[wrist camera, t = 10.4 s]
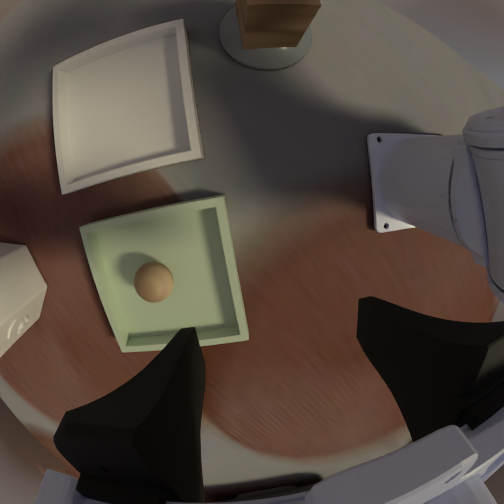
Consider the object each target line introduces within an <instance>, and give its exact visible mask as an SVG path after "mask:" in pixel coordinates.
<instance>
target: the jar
mask: <svg viewBox="0 0 504 504" xmlns="http://www.w3.org/2000/svg"><path fill="white" fill-rule="evenodd" d="M46 290H47V284H46V283H45V281H44V279H43V277H42V275H41V273H40V272H39V270H38V268H37V266H36V264H35V262H34V260H33V258H32V256H31V254H30V252H29V250H28V248H27V246H26V245H19V244H10V243H1V242H0V357H1V356H2V355H3V354H4V353H5V352H6V351H7V350H8V349H9V348H10V347H11V346H12V345H13V344H14V342H15V341H16V340H17V339H18V338H19V337H20V336H21V335H22V334H23V333H24V332H25V331H26V330H27V329H28V328H29V327H30V326H31V325H32V324H33V323H35V322H36V321H37V320H38V319H39V318H40V314H41V309H42V305H43V301H44V297H45V294H46Z"/></svg>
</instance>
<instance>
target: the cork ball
mask: <svg viewBox="0 0 504 504" xmlns="http://www.w3.org/2000/svg"><path fill="white" fill-rule="evenodd" d="M173 286H174V279H173V275H172V273H171V271H170V270H169V268H168V267H167V266H165V265H164V264H162V263H159V262H147V263H145V264H143V265H142V266H140V267H139V269H138V270H137V271H136V273H135V276H134V287H135V290H136V292H137V294H138V295H139V296H140V297H141V298H142V299H143V300H145V301H147V302H151V303H157V302H161V301H163V300H165V299H166V298H167V297H168V296H169V295H170V294H171V292H172V290H173Z"/></svg>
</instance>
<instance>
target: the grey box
mask: <svg viewBox="0 0 504 504" xmlns="http://www.w3.org/2000/svg"><path fill="white" fill-rule="evenodd" d="M53 125H54V139H55V149H56V158H57V166H58V173H59V180H60V186H61V191H62V195H63V194H68V193H72V192H76V191H79V190H82V189H85V188H88V187H91V186H95V185H98V184H101V183H105V182H108V181H111V180H115V179H119V178H122V177H126V176H130V175H133V174H137V173H141V172H145V171H149V170H153V169H158V168H162V167H166V166H171V165H175V164H180V163H185V162H190V161H195V160H200V159H204V154H203V147H202V141H201V134H200V128H199V121H198V114H197V107H196V100H195V93H194V85H193V78H192V70H191V62H190V54H189V45H188V37H187V28H186V25H185V23H184V20H183V19H179V20H174V21H170V22H166V23H162V24H158V25H155V26H151V27H148V28H144V29H141V30H138V31H135V32H132V33H129V34H126V35H123V36H120V37H117V38H115V39H112V40H109V41H107V42H104V43H102V44H100V45H97V46H95V47H92V48H90V49H88V50H86V51H83V52H81V53H79V54H77V55H75V56H73V57H71V58H69V59H67V60H65V61H63V62H61V63H59V64H57V65H56V66H54V67H53Z"/></svg>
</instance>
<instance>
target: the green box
mask: <svg viewBox="0 0 504 504" xmlns="http://www.w3.org/2000/svg"><path fill="white" fill-rule="evenodd" d="M79 229H80V233H81V237H82V240H83V244H84V248H85V252H86V255H87V259H88V262H89V265H90V269H91V272H92V275H93V278H94V281H95V284H96V287H97V290H98V293H99V296H100V299H101V301H102V304H103V307H104V309H105V312H106V315H107V317H108V320H109V322H110V325H111V327H112V330H113V332H114V334H115V337H116V339H117V341H118V344H119V346H120V348H121V350H122V352H139V351H154V350H163V349H164V347H165V346H166V345H167V344H168V343H169V342H170V341H171V339H172V338H173V337H174V336H175V335H176V333H177V332H178V331H179V330H180V329H181V328H188V327H195V329H196V332H197V336H198V340H199V344H200V346H207V345H215V344H223V343H230V342H237V341H244V340H249V333H248V325H247V320H246V315H245V309H244V304H243V299H242V293H241V288H240V282H239V277H238V271H237V265H236V260H235V254H234V248H233V243H232V237H231V231H230V225H229V219H228V214H227V208H226V202H225V196H224V194H222V195H216V196H211V197H205V198H199V199H194V200H189V201H184V202H179V203H174V204H169V205H164V206H159V207H154V208H150V209H145V210H140V211H136V212H132V213H127V214H123V215H119V216H115V217H110V218H106V219H102V220H98V221H94V222H91V223H88V224H86V225H84V226H81V227H79ZM147 262H159V263H162V264H164V265H165V266H167V267H168V268H169V270H170V271H171V273H172V275H173V279H174V286H173V290H172V292H171V294H170V295H169V296H168V297H167V298H166V299H165V300H163V301H161V302H157V303H151V302H147V301H145V300H143V299H142V298H141V297H140V296H139V295H138V294H137V292H136V290H135V287H134V276H135V273H136V271H137V270H138V269H139V267H140V266H142V265H143V264H145V263H147Z"/></svg>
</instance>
